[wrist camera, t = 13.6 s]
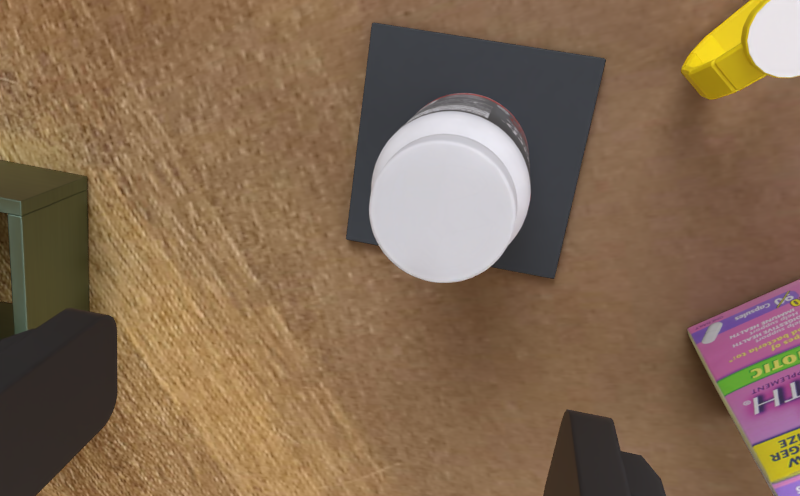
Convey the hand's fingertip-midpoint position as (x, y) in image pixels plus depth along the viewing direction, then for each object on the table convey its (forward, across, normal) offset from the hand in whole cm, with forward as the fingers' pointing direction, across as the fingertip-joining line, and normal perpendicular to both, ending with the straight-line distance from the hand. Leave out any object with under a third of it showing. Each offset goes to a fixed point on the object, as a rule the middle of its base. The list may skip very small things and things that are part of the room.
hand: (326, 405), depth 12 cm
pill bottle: (+21, -1, 0) cm, 21 cm away
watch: (+21, -11, -7) cm, 25 cm away
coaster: (+21, -1, 0) cm, 21 cm away
